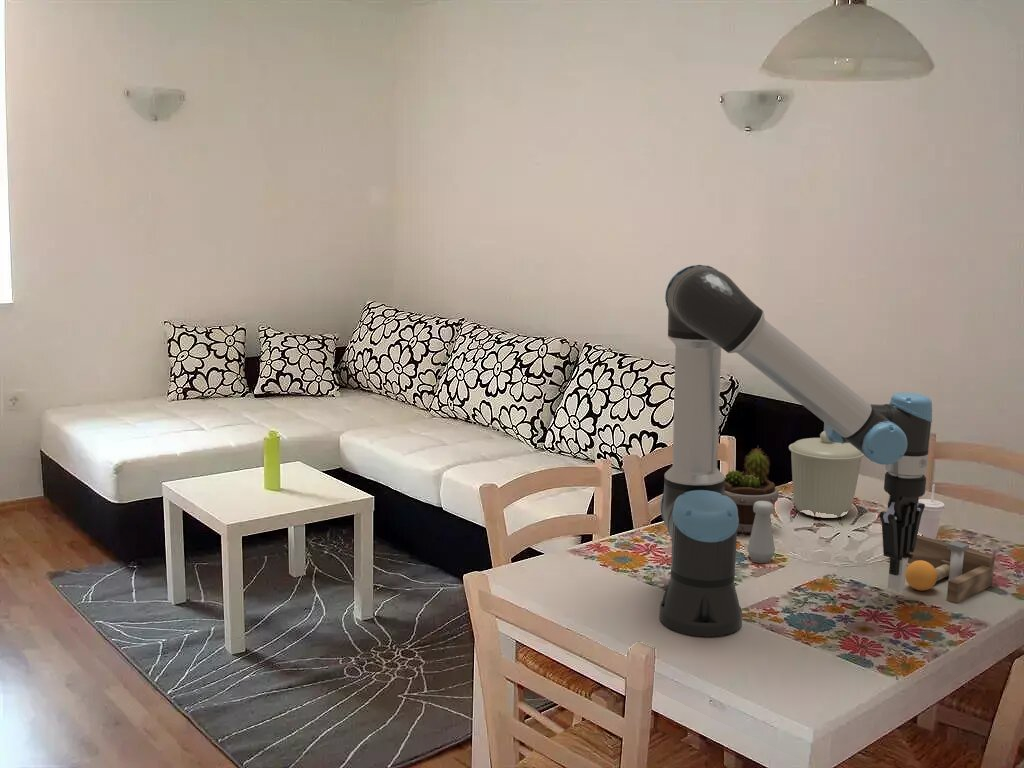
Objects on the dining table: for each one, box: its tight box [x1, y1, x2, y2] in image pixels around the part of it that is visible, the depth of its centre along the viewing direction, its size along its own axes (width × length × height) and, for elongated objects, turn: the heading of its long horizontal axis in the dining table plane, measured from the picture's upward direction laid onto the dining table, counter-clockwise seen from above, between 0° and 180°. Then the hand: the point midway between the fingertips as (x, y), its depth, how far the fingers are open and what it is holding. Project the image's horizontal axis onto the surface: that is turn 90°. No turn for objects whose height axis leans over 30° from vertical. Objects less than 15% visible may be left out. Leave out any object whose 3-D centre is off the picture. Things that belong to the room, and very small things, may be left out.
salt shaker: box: [747, 501, 776, 564], centre depth 227 cm, size 6×6×13 cm
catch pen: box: [907, 535, 996, 604], centre depth 216 cm, size 16×18×6 cm
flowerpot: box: [724, 445, 780, 537], centre depth 246 cm, size 14×15×20 cm
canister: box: [788, 430, 865, 516], centre depth 260 cm, size 18×18×21 cm
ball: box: [905, 560, 937, 592], centre depth 211 cm, size 6×6×6 cm
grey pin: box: [947, 540, 970, 581], centre depth 214 cm, size 3×3×9 cm
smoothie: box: [918, 483, 945, 540], centre depth 239 cm, size 6×6×14 cm
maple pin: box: [935, 560, 950, 582], centre depth 217 cm, size 3×3×9 cm
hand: (895, 588), depth 207 cm, fingers closed
